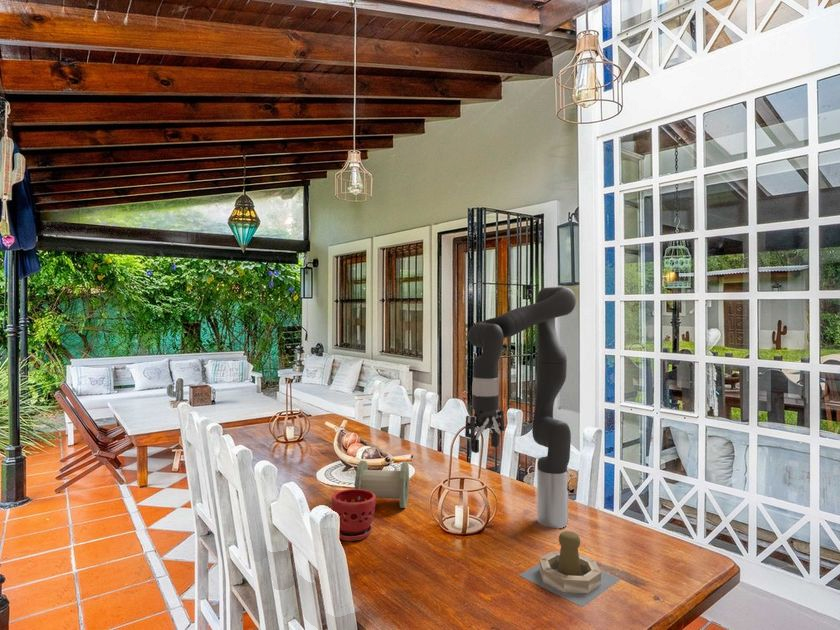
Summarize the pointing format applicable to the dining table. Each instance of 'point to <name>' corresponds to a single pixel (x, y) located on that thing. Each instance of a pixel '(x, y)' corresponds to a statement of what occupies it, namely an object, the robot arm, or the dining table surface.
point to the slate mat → (576, 598)
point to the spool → (384, 482)
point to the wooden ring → (570, 582)
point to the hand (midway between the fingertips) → (485, 449)
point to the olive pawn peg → (569, 554)
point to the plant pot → (354, 513)
